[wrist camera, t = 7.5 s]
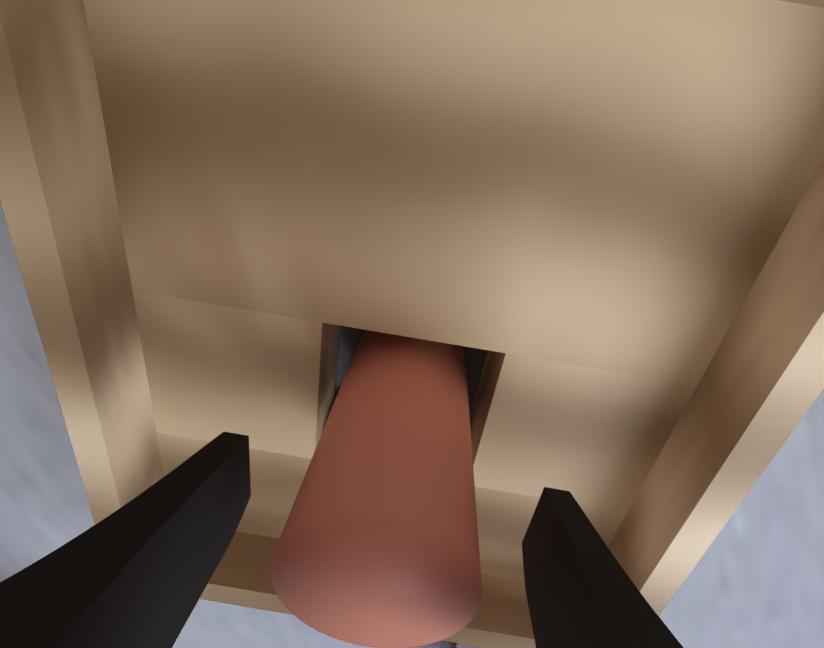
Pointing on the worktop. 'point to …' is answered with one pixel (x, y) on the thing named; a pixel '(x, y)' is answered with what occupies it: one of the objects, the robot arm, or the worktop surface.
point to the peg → (388, 503)
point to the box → (429, 247)
